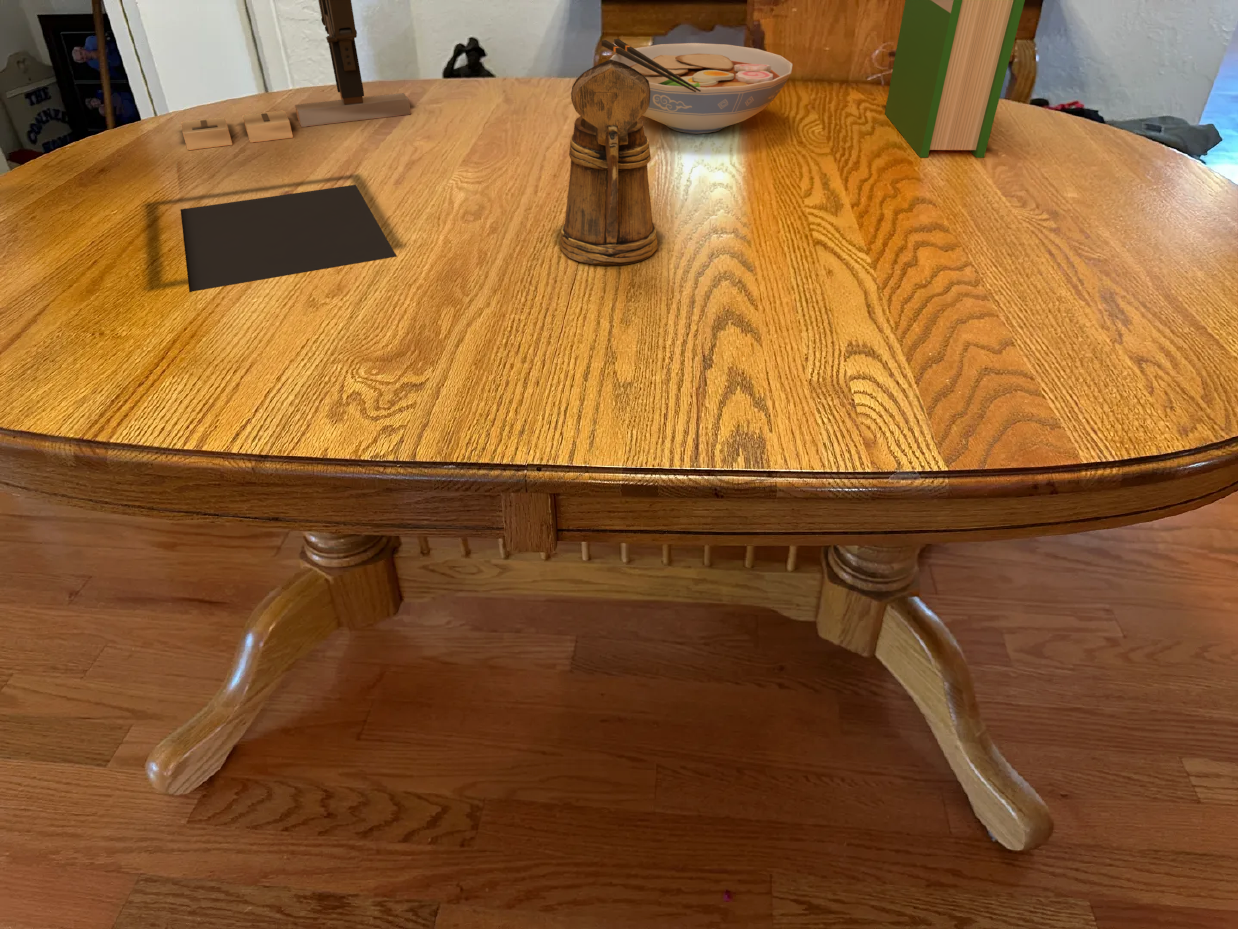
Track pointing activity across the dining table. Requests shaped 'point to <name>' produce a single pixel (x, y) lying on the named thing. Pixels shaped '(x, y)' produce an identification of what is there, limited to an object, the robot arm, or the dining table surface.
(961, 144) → the hardback book
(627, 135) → the wooden mug
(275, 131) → the tile
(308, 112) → the scraper
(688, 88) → the ramen bowl
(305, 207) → the mat
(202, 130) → the tile
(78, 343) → the dining table surface
